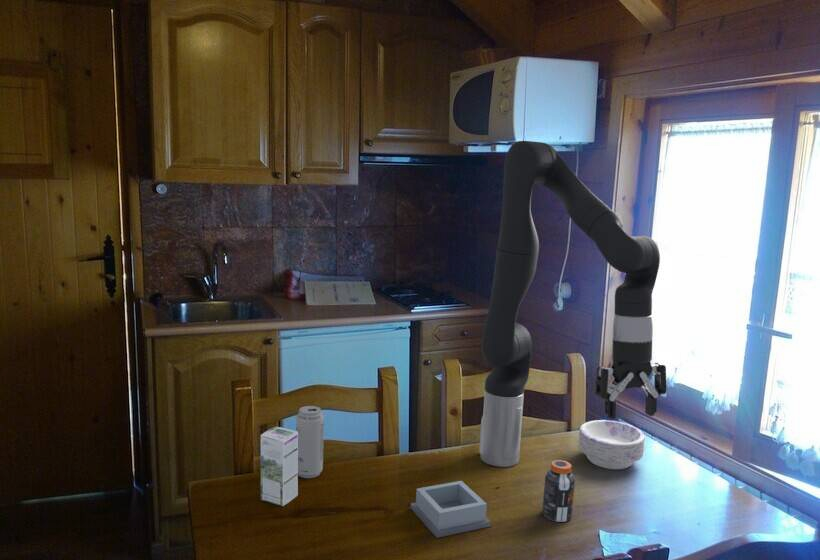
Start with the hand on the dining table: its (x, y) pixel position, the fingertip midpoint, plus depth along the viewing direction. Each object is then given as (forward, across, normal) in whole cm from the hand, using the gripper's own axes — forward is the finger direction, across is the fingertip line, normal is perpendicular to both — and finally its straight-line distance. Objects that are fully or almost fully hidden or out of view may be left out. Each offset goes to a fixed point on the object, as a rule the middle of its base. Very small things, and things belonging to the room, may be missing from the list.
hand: (630, 416), depth 139 cm
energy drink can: (+17, +63, -28) cm, 71 cm away
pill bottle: (+21, +14, -3) cm, 25 cm away
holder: (+20, +36, -6) cm, 41 cm away
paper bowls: (+20, -10, -26) cm, 34 cm away
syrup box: (+18, +70, -18) cm, 74 cm away
